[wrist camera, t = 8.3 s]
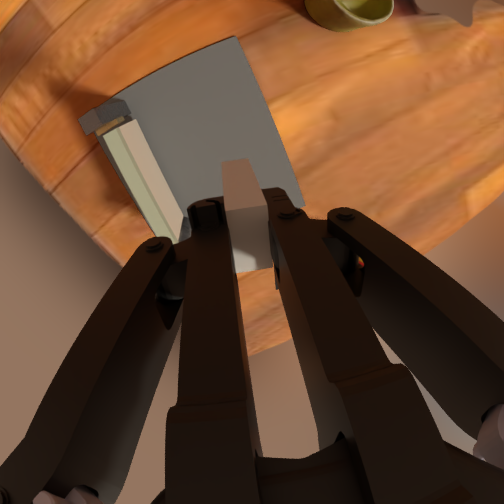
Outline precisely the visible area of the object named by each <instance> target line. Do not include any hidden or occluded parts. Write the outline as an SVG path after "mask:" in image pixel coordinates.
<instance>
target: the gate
mask: <svg viewBox="0 0 504 504" xmlns="http://www.w3.org/2000/svg"><path fill="white" fill-rule="evenodd" d="M103 137H104V139H105V141H106V143H107V145H108V147H109V150H110V152H111V153H112V155H113V157H114V159H115V161H116V163H117V165H118V167H119V169H120V171H121V173H122V175H123V177H124V179H125V181H126V182H127V184H128V186H129V188H130V190H131V192H132V194H133V195H134V197H135V199H136V201H137V203H138V204H139V206H140V208H141V210H142V212H143V213H144V215H145V217H146V219H147V220H148V222H149V224H150V226H151V227H152V229H153V231H154V232H155V234H156V236H157V237H160V236H164V237H168V238H171V240H172V242H173V244H176V243H179V242H178V239H179V234H180V229H181V225H182V220H183V214H182V212H181V210H180V208H179V206H178V204H177V202H176V200H175V198H174V196H173V194H172V192H171V190H170V188H169V186H168V184H167V182H166V180H165V178H164V176H163V174H162V172H161V170H160V168H159V166H158V164H157V162H156V160H155V158H154V156H153V154H152V152H151V150H150V148H149V145H148V143H147V141H146V139H145V137H144V135H143V133H142V131H141V129H140V126H139V124H138V122H137V120H136V119H135V120H133V121H130V122H128V123H126V124H124V125H122V126H120V127H118V128H116V129H114V130H112V131H111V132H109V133H107V134H105V135H104V136H103Z"/></svg>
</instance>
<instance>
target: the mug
mask: <svg viewBox="0 0 504 504" xmlns="http://www.w3.org/2000/svg"><path fill="white" fill-rule="evenodd" d="M304 3H305V7H306V10H307V11H308V13H309V15H310V16H311V17H312V18H313V19H314V20H315V21H316V22H317V23H318V24H319V25H321V26H322V27H324V28H326V29H328V30H332V31H336V32H349V31H353V30H355V29H358V28H363V27H368V26H373V25H377V24H379V23H382V22H384V21H385V20H387V19H388V18H389V17H390V15H391V14H392V11H393V8H394V1H393V0H304Z"/></svg>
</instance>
